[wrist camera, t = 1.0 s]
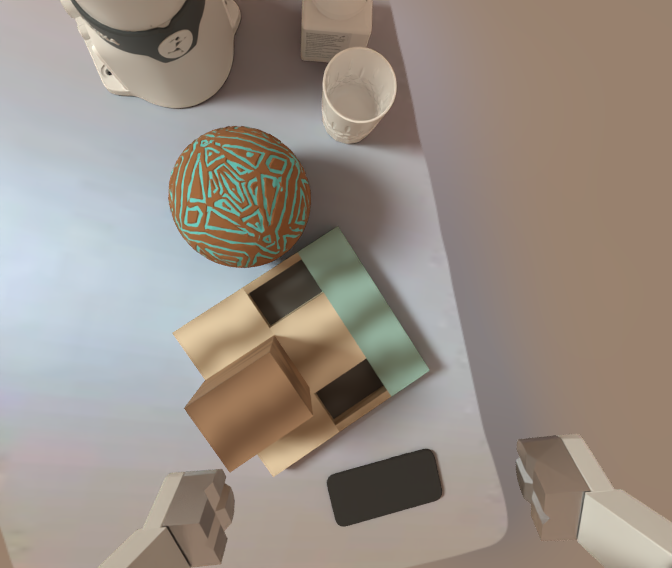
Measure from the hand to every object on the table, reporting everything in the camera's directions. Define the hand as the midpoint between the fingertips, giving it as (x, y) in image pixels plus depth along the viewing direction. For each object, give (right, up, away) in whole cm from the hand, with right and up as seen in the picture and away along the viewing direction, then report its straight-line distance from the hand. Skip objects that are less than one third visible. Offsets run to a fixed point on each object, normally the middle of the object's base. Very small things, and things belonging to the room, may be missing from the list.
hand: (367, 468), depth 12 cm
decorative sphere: (-12, +15, +42) cm, 46 cm away
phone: (+6, -22, +46) cm, 51 cm away
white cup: (+1, +27, +42) cm, 50 cm away
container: (-1, +37, +42) cm, 56 cm away
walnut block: (-11, -7, +40) cm, 42 cm away
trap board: (-5, -3, +43) cm, 44 cm away
